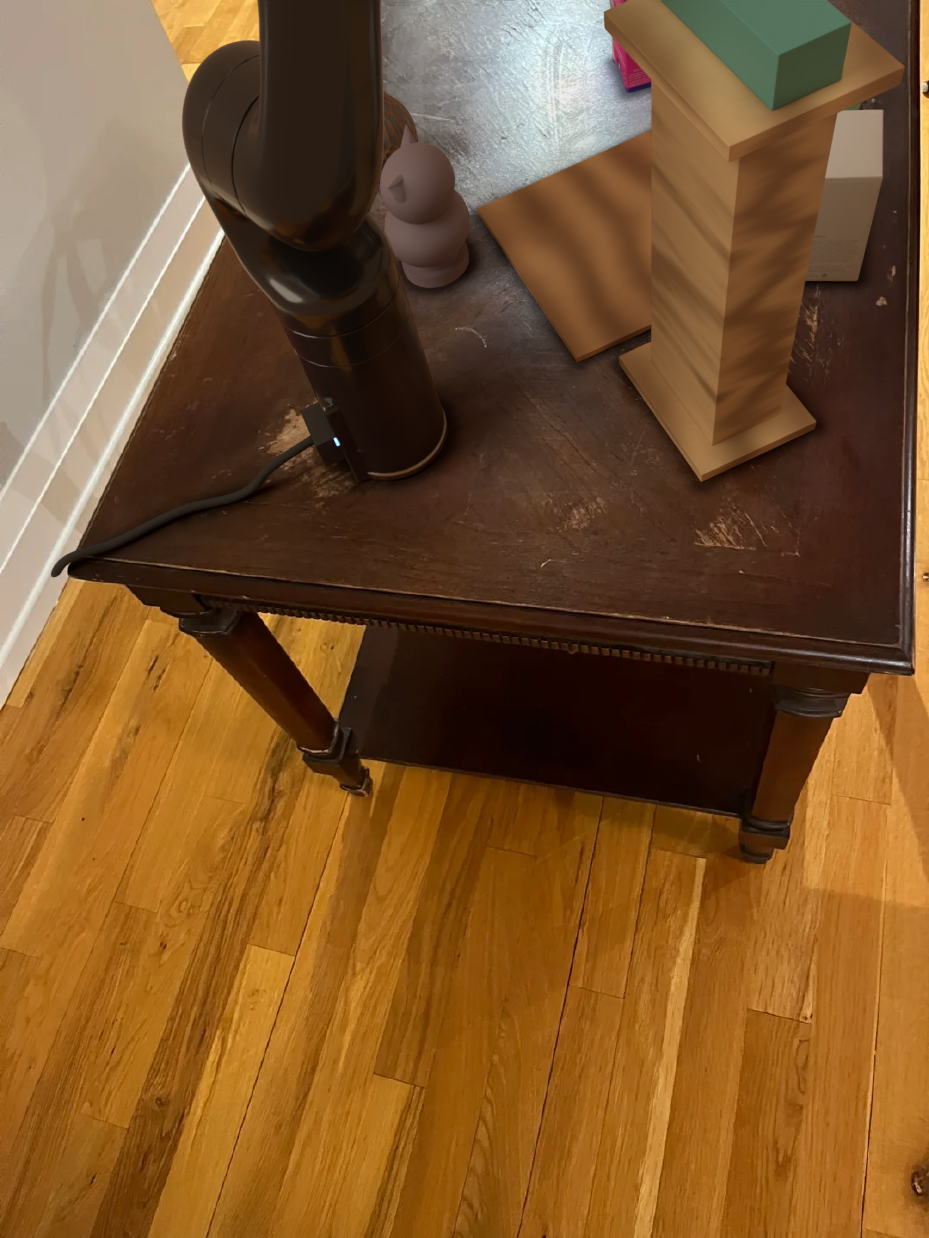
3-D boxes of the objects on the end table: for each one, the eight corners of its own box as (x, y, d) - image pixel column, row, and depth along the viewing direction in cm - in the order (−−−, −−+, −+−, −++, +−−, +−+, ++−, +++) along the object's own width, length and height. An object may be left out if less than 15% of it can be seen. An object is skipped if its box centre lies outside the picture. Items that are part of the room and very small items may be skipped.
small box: (857, 284, 80) (884, 178, 70) (788, 283, 81) (806, 179, 72) (860, 216, 83) (886, 106, 74) (793, 216, 84) (811, 109, 75)
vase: (351, 164, 98) (325, 85, 90) (411, 138, 98) (391, 58, 91) (371, 203, 95) (346, 125, 87) (433, 177, 95) (414, 96, 87)
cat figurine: (470, 297, 87) (445, 188, 76) (389, 298, 89) (354, 191, 78) (483, 230, 90) (461, 117, 80) (405, 232, 92) (374, 122, 82)
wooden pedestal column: (701, 482, 74) (729, 146, 47) (619, 364, 80) (603, 11, 54) (814, 429, 74) (905, 66, 48) (723, 316, 81) (758, -59, 54)
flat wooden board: (577, 363, 81) (576, 358, 81) (477, 213, 92) (476, 208, 91) (783, 268, 82) (784, 262, 81) (661, 130, 92) (661, 124, 92)
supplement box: (610, 61, 98) (605, -56, 88) (665, 45, 98) (667, -74, 88) (624, 95, 95) (621, -22, 85) (681, 79, 95) (685, -41, 85)
